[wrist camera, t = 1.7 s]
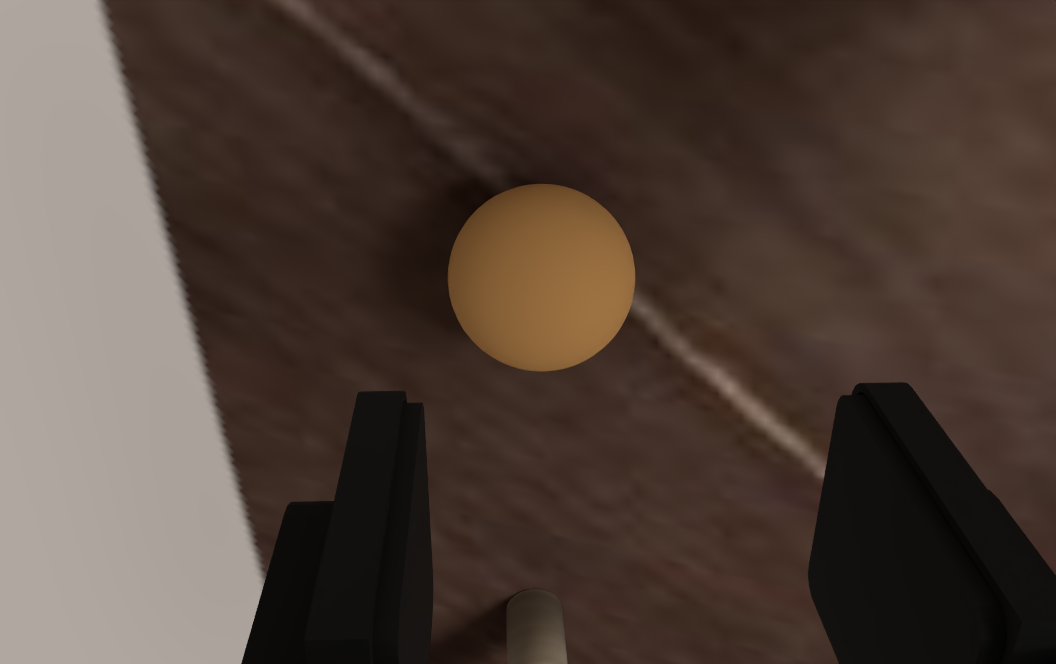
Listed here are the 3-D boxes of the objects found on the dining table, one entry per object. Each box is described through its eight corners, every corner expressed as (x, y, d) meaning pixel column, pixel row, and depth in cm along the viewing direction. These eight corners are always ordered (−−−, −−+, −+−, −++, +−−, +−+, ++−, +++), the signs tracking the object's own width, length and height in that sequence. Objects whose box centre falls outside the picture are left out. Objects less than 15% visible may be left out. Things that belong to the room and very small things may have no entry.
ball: (447, 159, 33) (440, 226, 28) (627, 157, 33) (654, 223, 28) (453, 320, 36) (447, 408, 30) (619, 317, 36) (642, 405, 31)
